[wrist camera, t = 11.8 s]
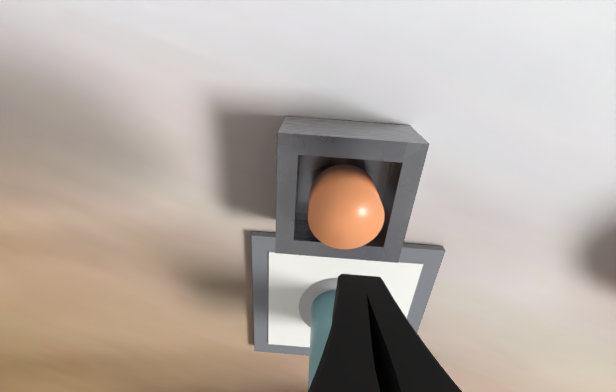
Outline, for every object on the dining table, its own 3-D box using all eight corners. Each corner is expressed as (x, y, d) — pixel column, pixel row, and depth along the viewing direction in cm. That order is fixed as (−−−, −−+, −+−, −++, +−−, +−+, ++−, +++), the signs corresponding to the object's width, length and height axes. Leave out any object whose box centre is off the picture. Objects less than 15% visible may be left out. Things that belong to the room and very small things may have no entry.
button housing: (386, 229, 20) (398, 262, 17) (282, 221, 20) (275, 253, 17) (409, 125, 17) (429, 144, 14) (285, 115, 17) (277, 132, 14)
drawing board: (404, 357, 26) (406, 365, 25) (255, 345, 26) (253, 353, 26) (442, 246, 20) (446, 252, 20) (252, 231, 21) (250, 237, 20)
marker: (360, 329, 24) (376, 453, 17) (309, 325, 24) (304, 447, 17) (368, 291, 22) (390, 413, 15) (313, 287, 22) (309, 407, 15)
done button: (370, 225, 17) (377, 251, 15) (307, 220, 17) (305, 246, 15) (381, 167, 16) (391, 187, 13) (312, 161, 16) (310, 181, 13)
